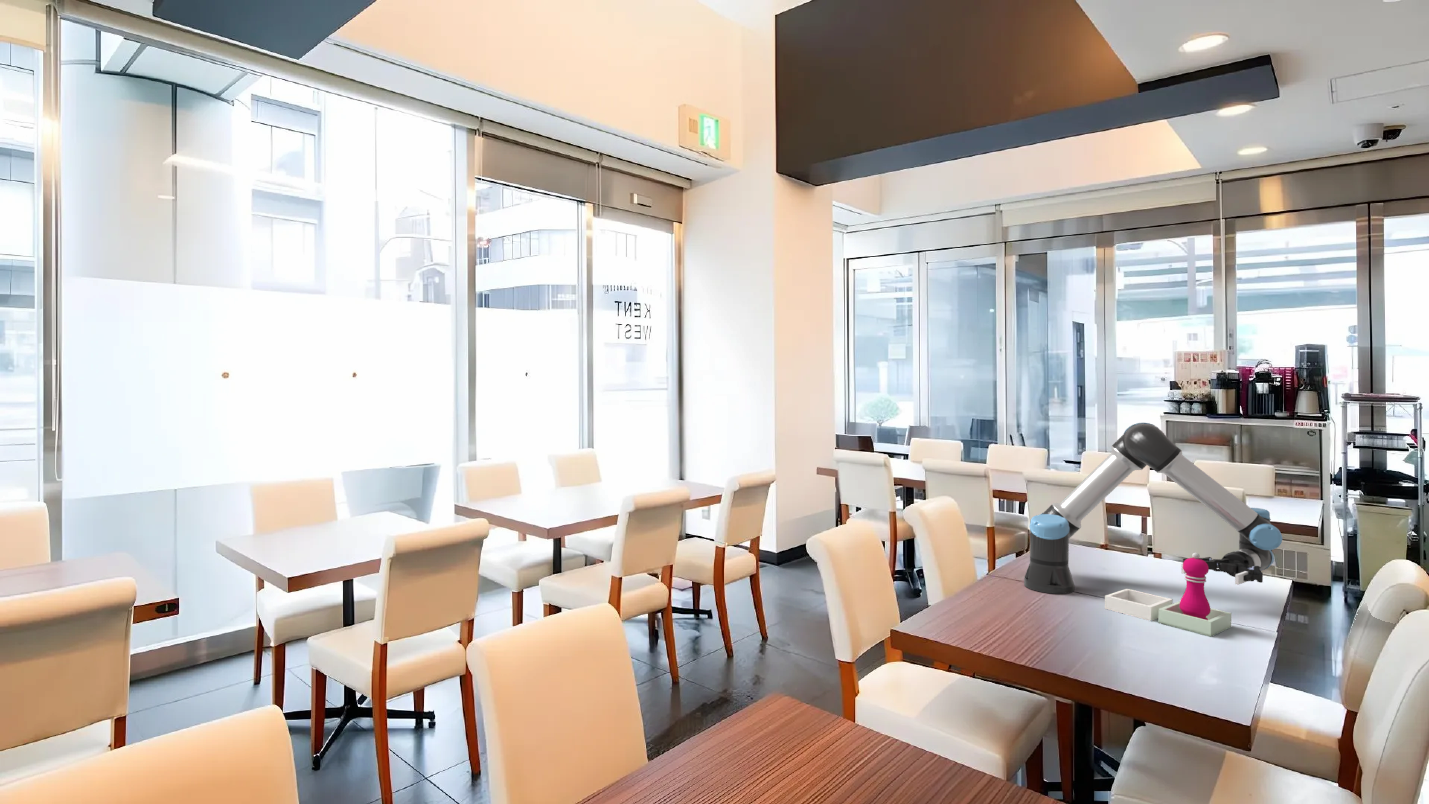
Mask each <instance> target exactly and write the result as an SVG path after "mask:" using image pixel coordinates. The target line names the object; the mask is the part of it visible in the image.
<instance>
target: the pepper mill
mask: <svg viewBox="0 0 1429 804" xmlns="http://www.w3.org/2000/svg"><path fill="white" fill-rule="evenodd" d="M1191 556H1192V557H1189V558H1188V557H1187V558H1185V559H1186V560H1185V561H1184V563H1183V562H1182V564H1183V570H1184V571H1185V572H1186V573H1185V574H1184V580H1185V581H1186V586H1185V587H1186V588H1185V591H1184V593H1183V595H1182V597H1181V599H1180V600H1179V601H1180V606H1179V607H1180V609H1181V611H1182V612H1183V613H1184V614H1185V615H1189V616H1193V617H1197V618H1201V619H1205V620H1208V619H1207V618H1206V616H1207V615H1209V614H1210V608H1211V605H1210V602H1209V601H1208V598H1207V596H1206V594H1205V583H1206V582H1207V576H1206V575H1207V574H1208V573H1209V571H1210V570H1209V568H1208V565H1207V563H1206V562H1205V561H1204V560H1202V559H1199V558H1201V557H1200V553H1198V552H1193V553H1192V554H1191Z"/></svg>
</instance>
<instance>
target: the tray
mask: <svg viewBox="0 0 1429 804" xmlns="http://www.w3.org/2000/svg"><path fill="white" fill-rule="evenodd" d="M1180 601H1181V600H1179V601H1176V602H1174V603H1173V602H1172V604H1171V605H1168V606H1165V607H1163V608H1160V609H1159V616H1158V618H1157V619H1158V624H1160V623H1161V625H1164V626H1168V627H1172V628H1176V629H1178V630H1180V629H1181V630H1182V631H1186V632H1191V633H1194V634H1197V635H1202V636H1207V637H1213V635H1214V636H1216V635H1217V634H1219V632H1220V633H1222V632H1224V631H1226V630H1229V629H1230V627H1231V628H1232V612H1228V611H1224V610H1220V609H1217V608H1212V607H1210V614H1209V615H1207V616H1206V618H1207V619H1208V620H1205V619H1201V618H1197V617H1193V616H1189V615H1185V614H1184V613H1183V612H1182V611H1181V609H1180V607H1179V606H1180Z"/></svg>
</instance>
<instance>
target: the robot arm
mask: <svg viewBox="0 0 1429 804" xmlns="http://www.w3.org/2000/svg"><path fill="white" fill-rule="evenodd" d="M1147 466H1148V467H1149V468H1151V469H1152V470H1153V471H1155V472H1156V473H1158V474H1164V475H1165V476H1166V477H1168V478H1169V479H1170V480H1172V481H1173V482H1174V483H1175V484H1177V486H1179V487H1180V488H1182V489H1183V490H1184V491H1186V492H1187V493H1188V494H1189V495H1191V496H1192V497H1193V498H1195V499H1196V501H1198V502H1200V503H1201V504H1202V505H1204V506H1205V507H1206V508H1207V509H1208V510H1210V511H1211V512H1212V513H1214V514H1215V515H1216V516H1218V518H1220V519H1221V520H1222V521H1224V522H1225V523H1227V524H1228V525H1229V526H1231V528H1233V529H1234V530H1235V531H1237V532H1238V534H1239V540H1238V549H1237V550H1235V551H1234V550H1233V551H1231V552H1228V553H1226V554H1224V555H1223V557H1222V558H1219V559H1218V558H1217V559H1216V558H1212V557H1211V556H1207V557H1199V559H1202V560H1204V561H1205V562H1206V563H1207V565H1208V568H1209V571H1210V570H1212V571H1213V572H1218V573H1220V572H1221V573H1222V572H1223V573H1226V574H1227V575H1229V576H1231V577H1234V584H1235V585H1237V586H1238V585H1239V586H1240V585H1241V584H1245V583H1247V582H1255V581H1256V582H1257V583H1264V582H1263V579H1264V578H1263V576H1264V575H1263V572H1262V571H1265V570H1267V569H1268V568H1269V567H1271V566H1272V565H1273V564H1274V562H1275V555H1274V553H1273V551H1272V550H1275V549H1277V548H1279V547H1280V546H1281V545H1282V543H1283V536H1282V535H1283V534H1282V533H1281V531H1280V529H1279V528H1278V527H1276V525H1273V524H1272V523H1271V520H1272V519H1271V517H1270V516H1271V515H1270V514H1271V513H1270V511H1269V510H1268V509H1264V508H1259V507H1250V506H1248V505H1247V504H1246V503H1245V502H1244V501H1242V500H1241V499H1240V498H1239V497H1238V496H1236V495H1234V494H1233V493H1232V492H1231V491H1229V490H1228V489H1227V488H1226V487H1224V486H1222V485H1221V484H1220V483H1219V482H1218V481H1216V480H1215V479H1214V478H1212V477H1211V476H1210V475H1208V473H1206V472H1205V471H1203V470H1202V469H1201V468H1199V467H1198V466H1197V465H1196V464H1194V463H1193V462H1192V461H1190V460H1189V459H1188V458H1187V457H1185V456H1184V455H1183V450H1181V448H1179V447H1178V446H1177V445H1175V443H1174V442H1172V441H1171V440H1170V439H1169V438H1168V436H1167V435H1166V434H1165V432H1163V431H1162V430H1161V429H1160V428H1159V427H1158V426H1156V425H1155V424H1152V423H1150V422H1137V423H1134V424H1132V425H1130V426H1129V427H1127V428H1126V429H1125V430H1124V432H1123V434H1122V435H1121V436H1120V437H1119V438H1118V439H1117V440H1116V441H1115V442H1114V443H1113V444H1112V445H1111V452H1110V454H1108V456H1106V457H1105V458H1104V459H1103V461H1102V462H1101V463H1100V464H1099V465H1097V467H1095V468H1094V469H1093V470H1092V471H1091V472H1090V473H1089V474H1088V475H1087V476H1086V477H1085V478H1084V479H1083V480H1082V481H1081V482H1080V483H1079V484H1078V485H1077V486H1076V487H1075V488H1074V489H1073V490H1071V491H1070V493H1068V495H1067V496H1066V497H1065V498H1064V499H1063V500H1062V501H1060V502H1053V503H1051V505H1050V506H1049V507H1047V509H1046V510H1045V511H1044V512H1042V513H1040V514H1038V515H1037V514H1036V515H1034V516H1032V517H1031V519H1030V523H1029V530H1030V531H1029V564H1028V566H1027V570H1026V572H1025V575H1024V577H1023V584H1024V585H1023V586H1024V587H1025V588H1027V589H1029V590H1031V591H1032V590H1033V591H1035V592H1036V591H1037V592H1040V593H1044V594H1045V593H1047V594H1055V595H1056V594H1059V595H1060V594H1061V595H1064V594H1071V593H1072V592H1074V591H1075V582H1074V580H1073V575H1072V572H1071V570H1070V567H1069V557H1070V556H1069V554H1070V553H1069V551H1070V549H1069V547H1070V546H1069V545H1070V544H1069V543H1070V542H1069V541H1070V538H1072V537H1073V536H1074V535H1075V534H1076V533H1077V532H1078V531H1079V530H1080V529H1081V528H1082V520H1083V519H1085V518H1086V517H1087V516H1088V515H1089V514H1090V513H1091V512H1092V511H1094V509H1095V508H1096V507H1097V506H1098V505H1099V504H1100V503H1102V501H1103V500H1104V499H1106V497H1108V496H1109V494H1111V493H1112V492H1113V491H1114V490H1115V489H1116V488H1117V487H1118V486H1119V485H1120V484H1121V483H1123V481H1125V479H1127V478H1128V477H1129V476H1130V475H1131V474H1132V473H1133V472H1134V471H1142V470H1143V469H1144V468H1146V467H1147ZM1186 559H1187V558H1185V557H1184V558H1182V564H1181V574H1183V575H1185V574H1186V572H1185V571H1184V570H1183V563H1184V561H1185V560H1186Z"/></svg>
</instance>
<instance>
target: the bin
mask: <svg viewBox="0 0 1429 804" xmlns="http://www.w3.org/2000/svg"><path fill="white" fill-rule="evenodd" d="M1171 604H1173V599H1172V598H1168V597H1165V596H1160V595H1156V594H1151V593H1148V592H1142V591H1139V590H1135V589H1132V588H1124V589H1122V590H1118V591H1115V592H1113V593H1109V594H1106V595H1104V609H1105V610H1107V609H1108V610H1107V611H1111V610H1112V612H1116V613H1118V612H1119V614H1122V613H1123V615H1127V616H1130V615H1131V616H1130V617H1134V618H1139V619H1141V618H1142V620H1146V621H1149V620H1150V621H1149V622H1152V621H1154V620H1157V619H1158V616H1159V609H1160V608H1163V607H1165V606H1168V605H1171ZM1151 620H1152V621H1151Z"/></svg>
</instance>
